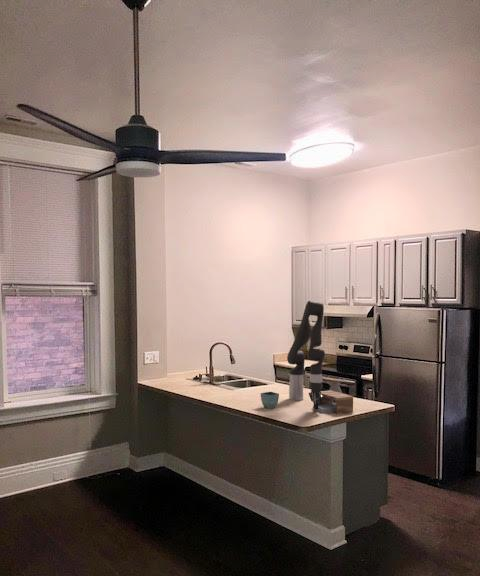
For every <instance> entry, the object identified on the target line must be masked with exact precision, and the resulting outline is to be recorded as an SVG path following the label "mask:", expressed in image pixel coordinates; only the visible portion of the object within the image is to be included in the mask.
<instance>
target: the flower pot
mask: <svg viewBox="0 0 480 576" xmlns="http://www.w3.org/2000/svg"><path fill="white" fill-rule="evenodd" d="M259 394H260V400H261V403H262V406H263V407H264V408H266V409H272V408H276V407H277V405H278V403H279V398H280V393H279V392H274V391H266V392H260V393H259Z"/></svg>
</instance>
